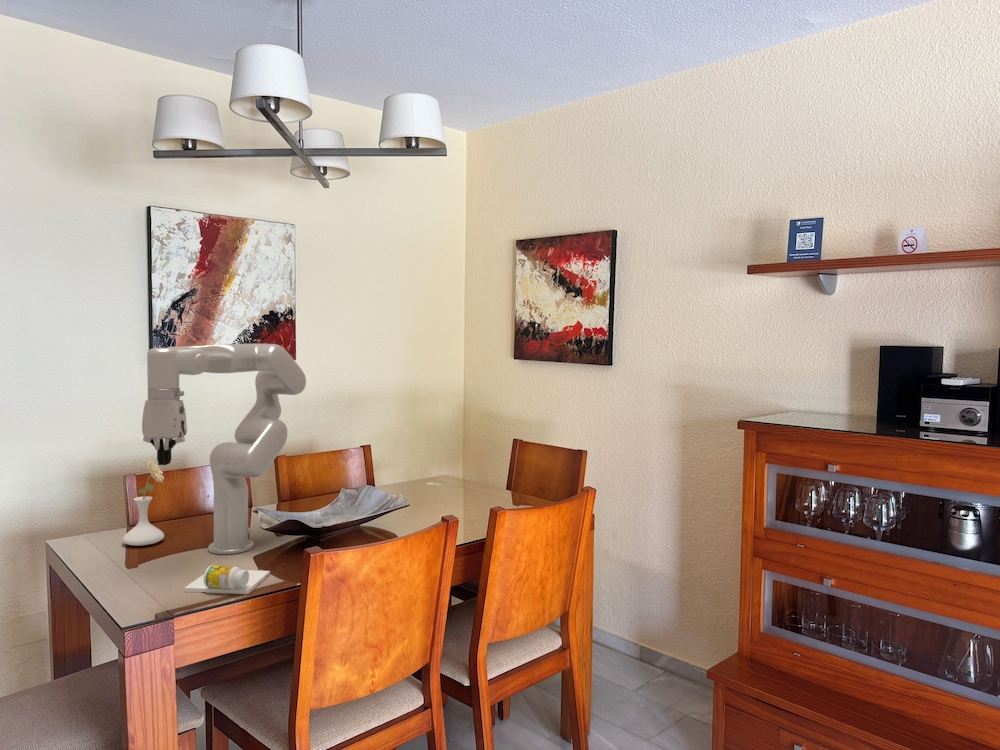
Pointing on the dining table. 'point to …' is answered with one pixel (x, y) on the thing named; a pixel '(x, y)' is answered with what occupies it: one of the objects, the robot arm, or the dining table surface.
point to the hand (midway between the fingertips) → (164, 464)
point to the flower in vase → (145, 514)
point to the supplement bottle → (225, 577)
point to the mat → (253, 581)
